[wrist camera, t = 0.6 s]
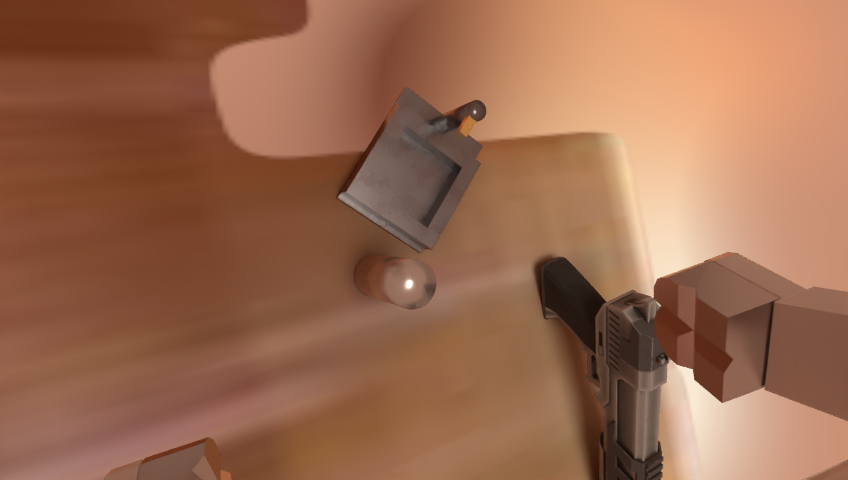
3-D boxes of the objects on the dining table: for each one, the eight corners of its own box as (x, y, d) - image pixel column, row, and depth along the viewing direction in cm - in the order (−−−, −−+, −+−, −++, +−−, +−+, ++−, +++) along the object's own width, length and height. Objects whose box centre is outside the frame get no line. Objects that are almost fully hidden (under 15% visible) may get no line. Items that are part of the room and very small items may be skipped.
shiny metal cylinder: (346, 269, 53) (380, 278, 44) (379, 246, 54) (420, 249, 45) (368, 304, 54) (406, 319, 45) (400, 280, 55) (444, 290, 46)
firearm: (550, 477, 73) (641, 570, 61) (536, 255, 59) (651, 318, 46) (574, 463, 75) (668, 550, 62) (567, 243, 60) (686, 300, 48)
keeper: (336, 197, 52) (361, 192, 45) (404, 87, 55) (439, 65, 48) (419, 252, 56) (455, 256, 49) (480, 146, 58) (523, 134, 51)
